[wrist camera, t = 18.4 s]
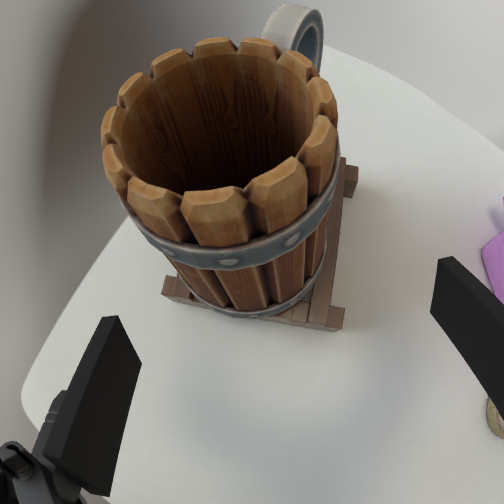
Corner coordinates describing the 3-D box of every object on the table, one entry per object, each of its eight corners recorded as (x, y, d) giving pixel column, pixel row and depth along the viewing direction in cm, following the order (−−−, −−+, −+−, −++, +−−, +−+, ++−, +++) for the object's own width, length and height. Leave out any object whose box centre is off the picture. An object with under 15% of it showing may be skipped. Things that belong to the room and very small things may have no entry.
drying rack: (172, 300, 27) (155, 291, 23) (211, 163, 31) (203, 139, 27) (335, 332, 25) (344, 328, 21) (352, 183, 29) (360, 160, 25)
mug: (285, 346, 21) (297, 329, 7) (157, 281, 23) (22, 184, 9) (362, 168, 25) (411, 15, 11) (249, 127, 27) (226, -23, 13)
